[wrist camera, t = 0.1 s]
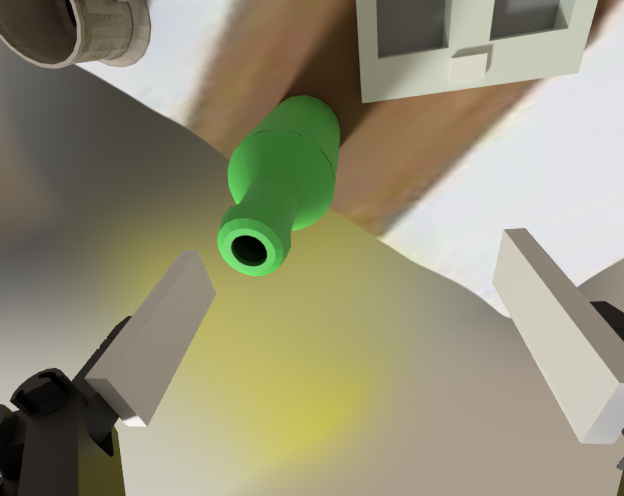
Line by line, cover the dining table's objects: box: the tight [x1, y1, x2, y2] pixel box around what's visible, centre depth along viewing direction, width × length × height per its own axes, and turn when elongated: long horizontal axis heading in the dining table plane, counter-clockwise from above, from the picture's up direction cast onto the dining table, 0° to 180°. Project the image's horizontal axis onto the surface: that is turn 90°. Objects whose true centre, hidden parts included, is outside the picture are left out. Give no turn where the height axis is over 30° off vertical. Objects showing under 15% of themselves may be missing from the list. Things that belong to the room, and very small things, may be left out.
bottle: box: [217, 95, 341, 276], centre depth 28 cm, size 9×9×25 cm
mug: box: [0, 0, 151, 69], centre depth 28 cm, size 14×10×12 cm
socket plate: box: [356, 0, 598, 103], centre depth 28 cm, size 14×20×4 cm
